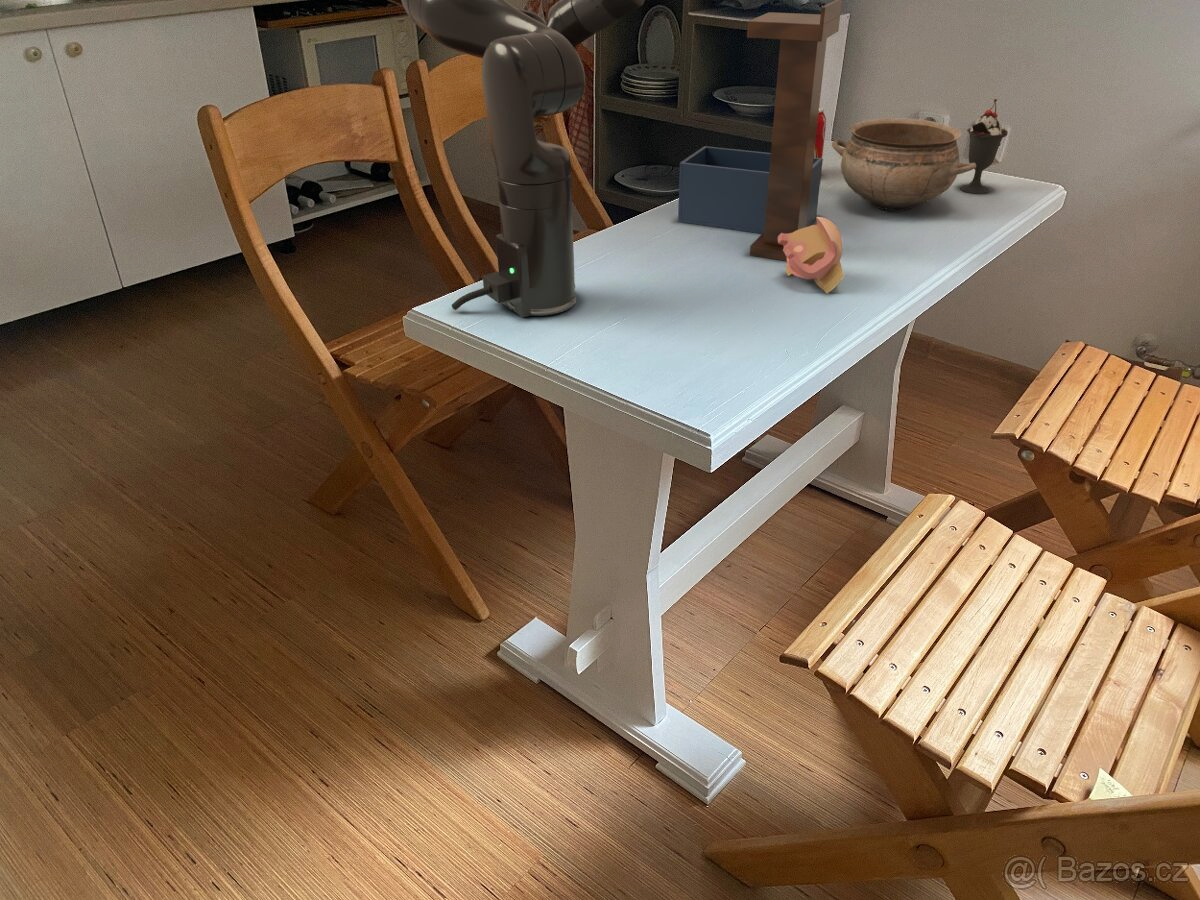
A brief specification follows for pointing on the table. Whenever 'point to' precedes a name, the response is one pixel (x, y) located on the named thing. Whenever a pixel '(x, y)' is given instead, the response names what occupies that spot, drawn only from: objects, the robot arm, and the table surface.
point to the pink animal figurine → (815, 253)
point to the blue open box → (732, 189)
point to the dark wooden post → (793, 117)
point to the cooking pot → (900, 161)
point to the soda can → (820, 134)
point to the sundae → (983, 147)
